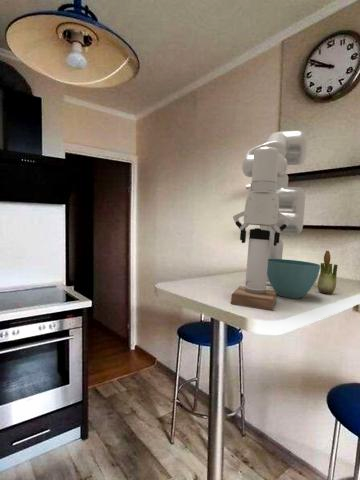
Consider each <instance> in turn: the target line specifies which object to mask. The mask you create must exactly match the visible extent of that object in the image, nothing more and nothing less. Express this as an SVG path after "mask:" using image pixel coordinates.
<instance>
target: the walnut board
mask: <svg viewBox="0 0 360 480" xmlns="http://www.w3.org/2000/svg"><path fill="white" fill-rule="evenodd" d="M276 301H277V293H276V291H275V290H274V289H273V290H270V289H266V291H265V293H264V294H253V293H249V292H246V291H245V286H243V285H240V286H238V287H237V289H235V290H234V291H233V292H232V293H231V296H230V304H231V305H233V306H234V305H236V306H242V307H246V308H247V307H248V308H255V309H259V310H266V311H271V312H272V311H273V310H274V307H275V303H276Z"/></svg>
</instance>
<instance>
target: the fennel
mask: <svg viewBox="0 0 360 480" xmlns="http://www.w3.org/2000/svg"><path fill="white" fill-rule="evenodd" d="M331 258H332V257H331V253H330V251H329V250H326V251H325V253H324V255H323V261H324V262H323V263H324V265H325V263H328V267H329V263H330V264H331ZM314 286H315V287H316V288H318V281H317V283H316V282H315V283H314ZM335 288H336V287H335ZM336 289H337V288H336Z"/></svg>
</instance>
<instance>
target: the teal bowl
mask: <svg viewBox="0 0 360 480" xmlns="http://www.w3.org/2000/svg"><path fill="white" fill-rule="evenodd" d="M320 270H321V264H319V263H315V262H311V261H310V262H309V261H303V260H296V259H284V258H282V259H268V267H267V275H268V279H269V281H270V283H271V285H270V286H271V287H272V288H273V291H276V295H278V296H281V297H285V298H290V299H301V298H303V297H305V296H306V295H307V293H308V292H309V291H310V290H311V289H312V288H313V287H314V286H315V284H316V281H317V279H318V278H319V277H318V276H319V275H320Z"/></svg>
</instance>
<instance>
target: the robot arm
mask: <svg viewBox="0 0 360 480" xmlns="http://www.w3.org/2000/svg"><path fill="white" fill-rule="evenodd" d="M306 158H307V137H306V135H305V132H304V131H302V130H285V131H284V130H283V131H276V132H272V133H271V134H270V135H269V136H268V139H267V140H266V142H264V143H262V144H259V145H257V146H254V147H252V148H250V149H249V150H248V151H247V152H246V153H245V155H244V157H243V161H242V164H241V165H242V166H241V168H242V173H243V174H244V176H245V177H247V178H251V182H250V184H246V187H245V188H246V190H248V191H250V192H247V195H246V198H245V205H244V210H243V211H241V212H240V213H237V214H234V215H233V217H232V219H233V221H234V223H235V225H236V226H237V228H238V229H239V230H240V233H239V234H240V235H239V240H240V241H241V244H245V243H246V239H247V229H246V228H248V227H249V226H260V229H261V230H268V231H270V237H269V238H270V241H269V255H268V259H283V251H284V242H283V240H282V239H281V237H280V235H281V234H290V235H292V234H293V235H297V234H300V233H301V232H302V231H303V227H304V219H305V218H304V217H305V206H306V205H305V204H306V194H305V191H304V189H303V188H302V187H298V186H297V187H296V186H294V187H292V186H289V185H288V184H289V176H288V174H287V173H286V172H287V170H288V166H300V165H302V164H304V163H305V161H306ZM285 210H287V211H285ZM288 210H291V211H288ZM242 217H243V223H241V222H240V218H242ZM266 286H272V285H271V283H270V281H269V279H268V275H267V279H266Z"/></svg>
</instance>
